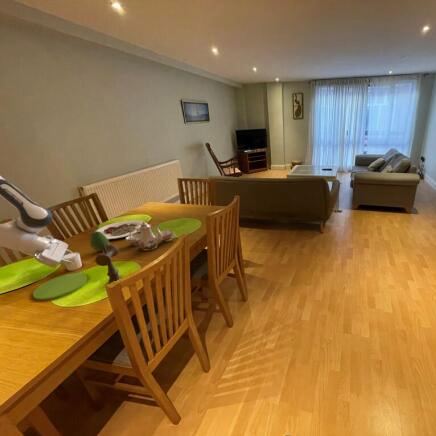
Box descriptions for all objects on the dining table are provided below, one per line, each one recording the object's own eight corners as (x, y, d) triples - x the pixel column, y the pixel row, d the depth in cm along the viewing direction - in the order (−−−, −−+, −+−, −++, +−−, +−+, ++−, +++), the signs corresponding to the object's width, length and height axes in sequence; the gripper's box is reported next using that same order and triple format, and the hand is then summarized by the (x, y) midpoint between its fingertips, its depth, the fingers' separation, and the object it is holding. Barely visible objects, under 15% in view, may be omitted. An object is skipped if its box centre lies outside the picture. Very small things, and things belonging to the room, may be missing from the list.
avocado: (97, 248, 140) (90, 229, 135) (112, 246, 142) (107, 228, 137) (91, 255, 133) (84, 235, 128) (108, 252, 135) (101, 233, 130)
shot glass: (86, 265, 123) (81, 253, 120) (70, 272, 117) (65, 260, 115) (79, 262, 126) (74, 251, 123) (63, 269, 120) (57, 257, 117)
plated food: (147, 234, 157) (146, 229, 155) (90, 245, 143) (88, 240, 142) (147, 219, 181) (146, 215, 180) (98, 228, 167) (96, 223, 166)
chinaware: (177, 237, 156) (172, 213, 151) (176, 246, 141) (170, 219, 136) (127, 245, 146) (120, 219, 141) (120, 256, 131) (112, 227, 126)
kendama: (126, 274, 116) (114, 237, 108) (119, 286, 107) (106, 246, 100) (112, 276, 114) (99, 238, 107) (103, 288, 106) (89, 249, 98)
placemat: (35, 306, 96) (34, 304, 95) (31, 287, 107) (30, 286, 106) (91, 284, 108) (90, 283, 108) (82, 270, 119) (81, 268, 119)
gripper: (36, 251, 104) (73, 264, 112) (49, 234, 120) (81, 246, 128) (26, 263, 103) (64, 275, 112) (41, 244, 119) (73, 255, 128)
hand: (73, 259), depth 120 cm, fingers open, 7 cm apart
